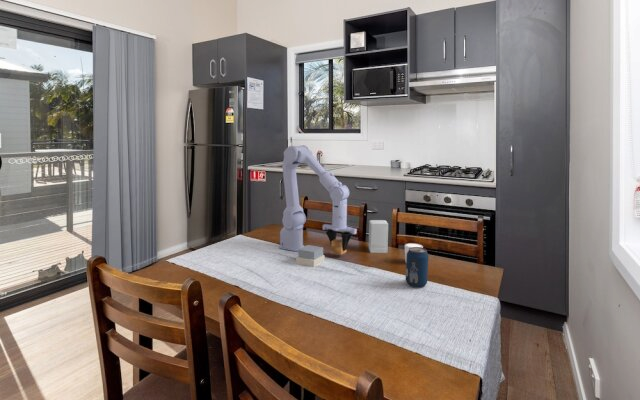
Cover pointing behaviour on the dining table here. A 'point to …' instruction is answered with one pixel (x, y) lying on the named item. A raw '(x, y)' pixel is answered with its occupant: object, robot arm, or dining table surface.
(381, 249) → the supplement box
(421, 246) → the white cylinder
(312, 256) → the slate top block
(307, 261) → the cream base block
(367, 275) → the dining table surface
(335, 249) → the orange block
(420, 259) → the soda can
